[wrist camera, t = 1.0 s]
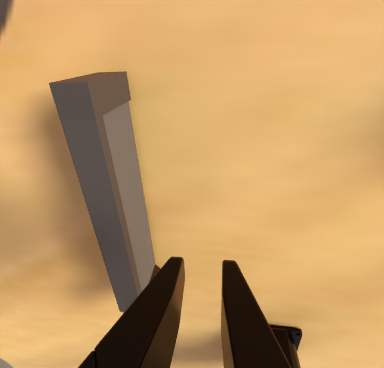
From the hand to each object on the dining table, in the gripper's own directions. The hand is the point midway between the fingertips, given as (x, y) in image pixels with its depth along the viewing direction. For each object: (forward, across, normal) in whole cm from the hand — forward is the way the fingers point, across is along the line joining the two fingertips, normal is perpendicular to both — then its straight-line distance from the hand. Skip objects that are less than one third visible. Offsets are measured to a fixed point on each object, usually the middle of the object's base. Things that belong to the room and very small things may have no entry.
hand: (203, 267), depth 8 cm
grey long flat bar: (+11, +7, +4) cm, 14 cm away
